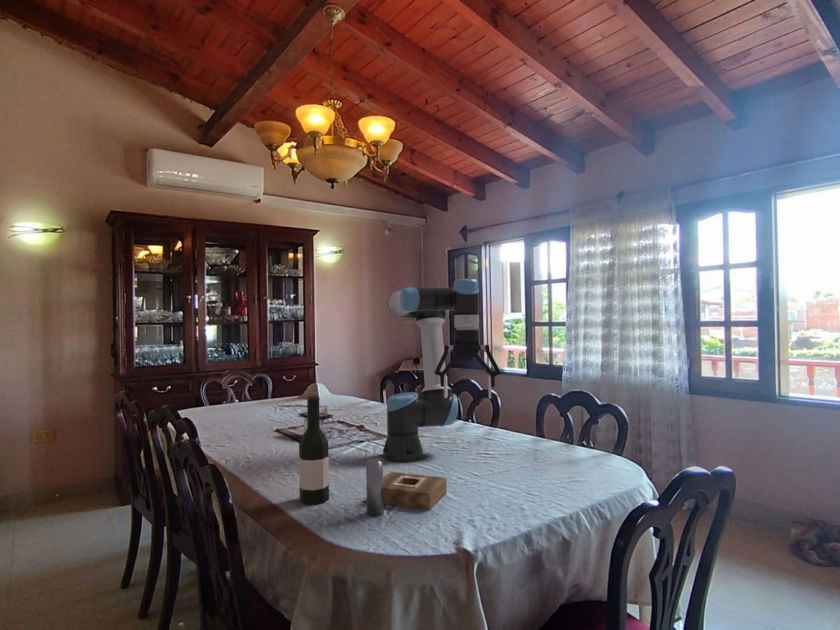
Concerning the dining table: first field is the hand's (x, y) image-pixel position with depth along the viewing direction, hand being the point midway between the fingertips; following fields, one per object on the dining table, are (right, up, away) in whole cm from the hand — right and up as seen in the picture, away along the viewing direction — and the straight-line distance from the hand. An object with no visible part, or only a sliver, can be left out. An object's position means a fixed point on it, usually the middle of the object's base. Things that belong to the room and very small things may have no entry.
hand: (467, 397), depth 157 cm
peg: (-27, -27, -21) cm, 44 cm away
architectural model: (-61, -29, +67) cm, 94 cm away
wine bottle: (-45, -28, -11) cm, 54 cm away
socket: (-18, -27, -10) cm, 34 cm away
